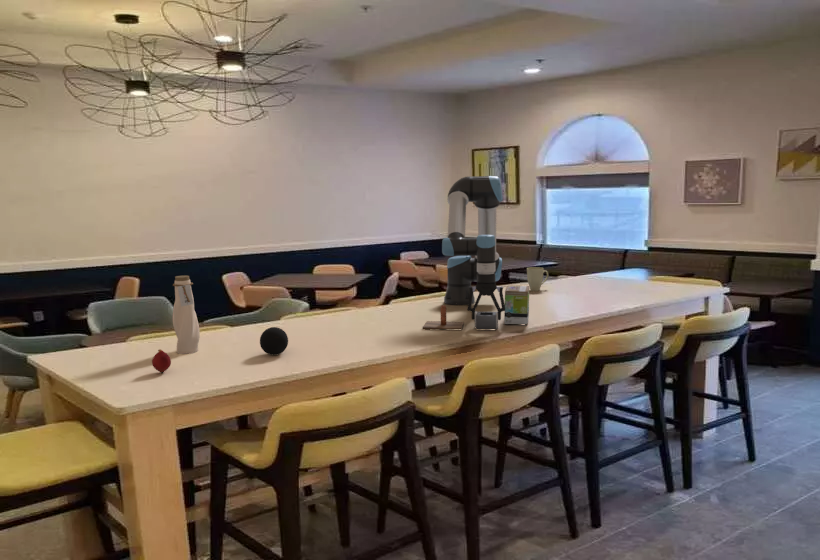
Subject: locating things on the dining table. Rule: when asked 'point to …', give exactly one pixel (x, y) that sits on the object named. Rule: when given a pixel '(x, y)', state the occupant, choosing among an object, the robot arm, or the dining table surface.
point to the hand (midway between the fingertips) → (486, 327)
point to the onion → (161, 361)
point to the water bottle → (185, 317)
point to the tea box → (516, 305)
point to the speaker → (273, 341)
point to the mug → (535, 277)
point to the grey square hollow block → (486, 320)
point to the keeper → (442, 322)
